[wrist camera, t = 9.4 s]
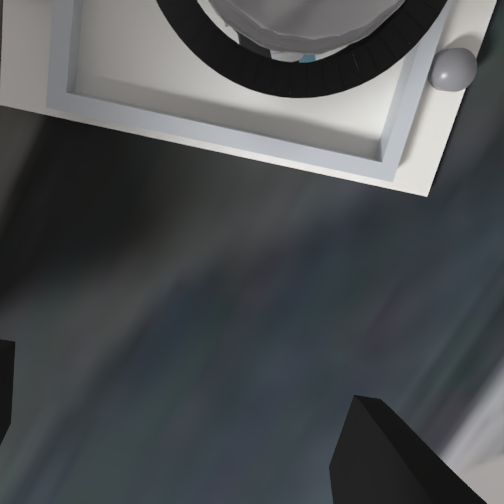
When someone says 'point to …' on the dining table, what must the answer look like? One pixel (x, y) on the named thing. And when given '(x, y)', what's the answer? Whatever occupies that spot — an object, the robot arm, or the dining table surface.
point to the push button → (302, 40)
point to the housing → (239, 90)
